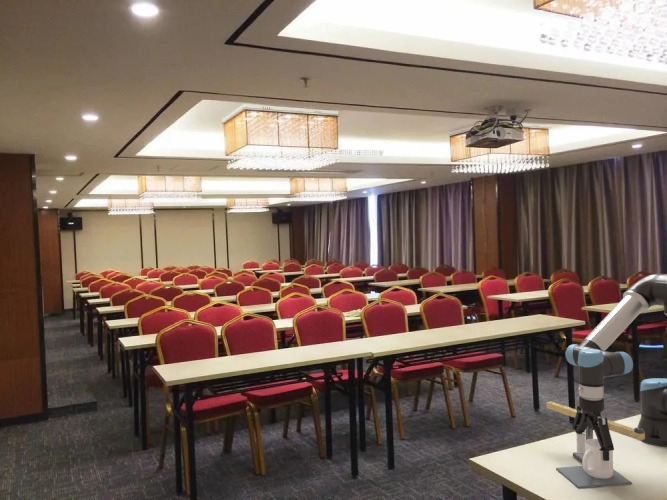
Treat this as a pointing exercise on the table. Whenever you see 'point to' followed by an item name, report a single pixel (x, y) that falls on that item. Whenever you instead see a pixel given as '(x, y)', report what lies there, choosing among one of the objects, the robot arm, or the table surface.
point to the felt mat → (590, 478)
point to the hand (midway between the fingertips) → (592, 461)
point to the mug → (596, 460)
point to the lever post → (588, 436)
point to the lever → (621, 429)
